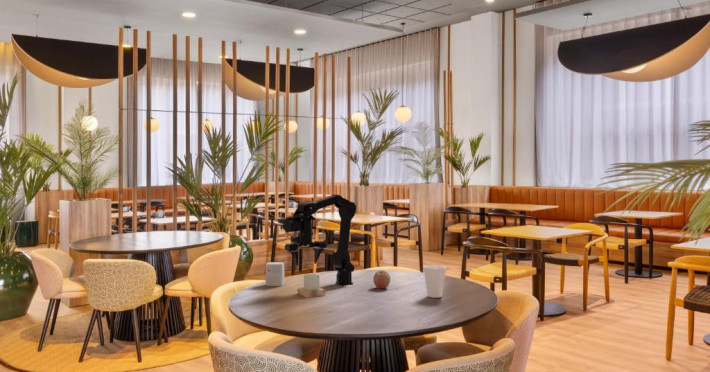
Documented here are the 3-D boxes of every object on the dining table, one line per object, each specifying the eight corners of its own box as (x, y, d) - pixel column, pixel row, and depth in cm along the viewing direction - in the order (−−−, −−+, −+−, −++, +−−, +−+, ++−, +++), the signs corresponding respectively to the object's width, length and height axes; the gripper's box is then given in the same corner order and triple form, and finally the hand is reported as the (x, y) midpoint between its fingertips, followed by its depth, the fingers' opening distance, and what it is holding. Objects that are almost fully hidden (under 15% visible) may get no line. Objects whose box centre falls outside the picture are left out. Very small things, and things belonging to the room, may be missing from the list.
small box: (284, 284, 282) (284, 262, 282) (282, 286, 277) (281, 264, 277) (268, 283, 283) (268, 262, 283) (265, 286, 278) (265, 263, 277)
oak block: (316, 292, 265) (316, 286, 265) (325, 296, 257) (325, 289, 257) (297, 294, 260) (297, 288, 260) (306, 298, 252) (306, 291, 252)
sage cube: (314, 287, 262) (314, 273, 262) (319, 289, 258) (319, 275, 258) (304, 288, 259) (304, 274, 259) (309, 290, 255) (309, 276, 255)
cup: (449, 295, 255) (449, 265, 255) (442, 300, 246) (442, 269, 246) (427, 293, 259) (427, 264, 259) (419, 298, 250) (419, 267, 250)
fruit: (370, 289, 269) (370, 271, 269) (376, 286, 277) (376, 269, 277) (387, 290, 266) (387, 273, 266) (392, 287, 274) (392, 270, 274)
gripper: (315, 227, 278) (316, 260, 279) (279, 230, 268) (280, 264, 269) (326, 229, 268) (327, 263, 269) (289, 232, 259) (290, 267, 259)
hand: (306, 264), depth 267 cm, fingers open, 9 cm apart
